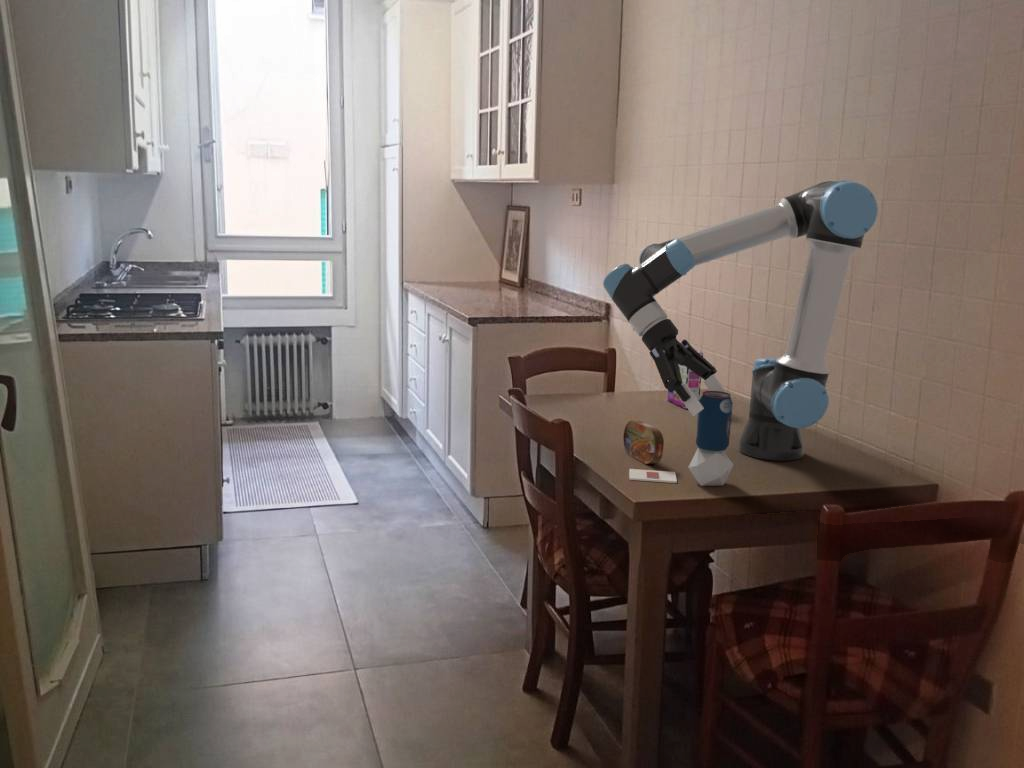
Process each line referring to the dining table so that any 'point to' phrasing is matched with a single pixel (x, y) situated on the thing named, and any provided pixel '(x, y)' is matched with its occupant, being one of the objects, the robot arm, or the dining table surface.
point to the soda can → (714, 421)
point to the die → (710, 467)
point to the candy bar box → (691, 381)
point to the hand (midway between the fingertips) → (713, 407)
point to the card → (652, 475)
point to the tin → (643, 442)
